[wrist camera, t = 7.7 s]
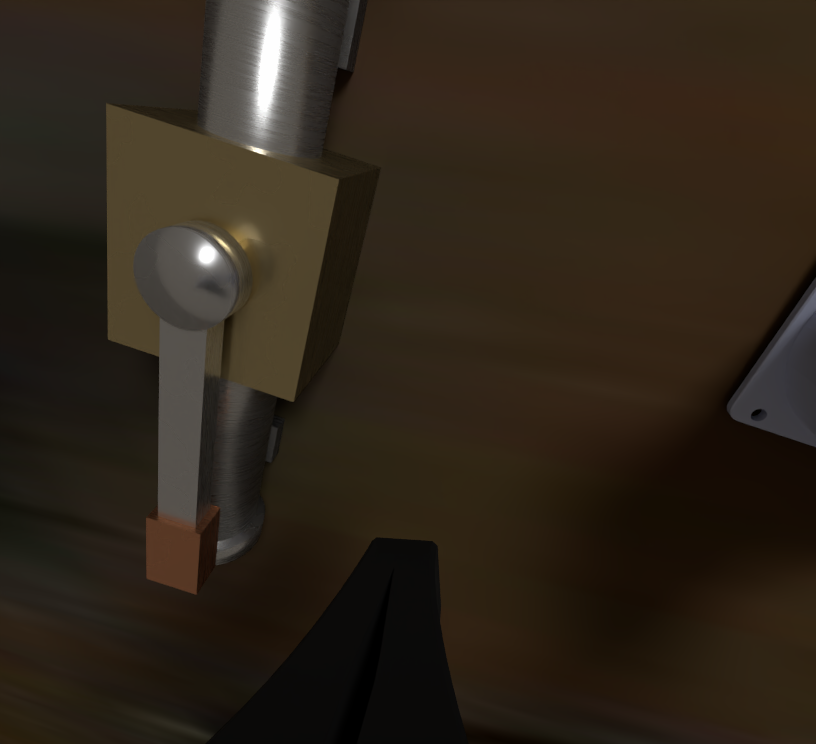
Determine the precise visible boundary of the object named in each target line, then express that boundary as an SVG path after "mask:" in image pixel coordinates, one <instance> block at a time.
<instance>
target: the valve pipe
mask: <svg viewBox="0 0 816 744" xmlns="http://www.w3.org/2000/svg"><path fill="white" fill-rule="evenodd" d="M366 5H367V0H206V7H205V21H204V35H203V49H202V63H201V77H200V91H199V105H198V110H186V109H173V108H160V107H147V106H135V105H122V104H109V103H106V114H107V268H108V340H111V341H114V342H117V343H120V344H123V345H126V346H129V347H132V348H135V349H138V350H141V351H144V352H147V353H150V354H153V355H156V356H159V344H160V317H159V316H157V315H156V314H155V313H154V312H153V311H152V310H151V308H150V307H149V306H148V305H147V303H146V302H145V301H144V299H143V297H142V296H141V294H140V292H139V290H138V287H137V284H136V281H135V277H134V270H133V262H134V256H135V252H136V249H137V247H138V245H139V243H140V242H141V241H142V239H143V238H144V237H145V236H147V235H148V234H149V233H151V232H152V231H155V230H157V229H161V228H164V227H168V226H171V225H175V224H178V223H182V222H186V221H190V220H202V221H207V222H211V223H213V224H216V225H218V226H220V227H222V228H223V229H225V230H226V231H228V232H229V233H230V234H231V235H232V236H233V237H234V238H235V239H236V240H237V241H238V242H239V243H240V245H241V246H242V248H243V249H244V251H245V252H246V255H247V257H248V259H249V262H250V265H251V269H252V276H253V282H252V290H251V293H250V296H249V298H248V300H247V301H246V303H245V304H244V305H243V306H242V307H241V308H240V309H239V310H238V311H236V312H235V313H233V314H232V315H230V316H229V317H228V318H226V319H225V320H224V333H223V347H222V360H221V373H220V386H219V399H218V413H217V426H216V439H215V452H214V466H213V479H212V492H211V505H214V506H217V507H220V508H221V509H220V520H219V532H218V543H217V554H216V565H220V564H224V563H228V562H231V561H233V560H236V559H238V558H240V557H241V556H243V555H244V554H246V553H247V552H248V551H249V550H251V549H252V547H253V546H254V545H255V544H256V542H257V541H258V539H259V537H260V534H261V531H262V526H263V521H264V515H265V505H264V501H263V499H262V497H261V496H260V494H259V493H260V487H261V482H262V476H263V471H264V466H265V461H267V462H270V463H271V462H272V461H273V459H274V458H275V456H276V455H277V454H278V451H279V446H280V440H281V435H282V430H283V425H284V420H285V419H284V418H281V417H278V416H275V415H274V411H275V406H276V400H277V397H279V398H282V399H285V400H288V401H291V402H294V401H295V400H296V399H297V397H298V396H299V395H300V393H301V392H302V391H303V390H304V388H305V387H306V386H307V384H308V383H309V382H310V380H311V379H312V378H313V376H314V375H315V374H316V373H317V371H318V370H319V369H320V367H321V366H322V365H323V363H324V362H325V361H326V360H327V358H328V357H329V356H330V354H331V353H332V352H333V350H334V349H335V348H336V347H337V345H338V344H339V340H340V336H341V332H342V328H343V324H344V319H345V315H346V311H347V307H348V303H349V299H350V294H351V290H352V286H353V282H354V278H355V273H356V269H357V265H358V261H359V257H360V253H361V248H362V244H363V240H364V236H365V232H366V227H367V223H368V219H369V215H370V211H371V207H372V202H373V198H374V194H375V190H376V186H377V181H378V177H379V173H380V169H381V168H380V167H377V166H374V165H371V164H368V163H365V162H362V161H359V160H356V159H353V158H350V157H347V156H343V155H340V154H337V153H334V152H331V151H328V150H325V149H323V145H324V140H325V134H326V129H327V123H328V118H329V113H330V107H331V102H332V96H333V91H334V85H335V80H336V75H337V69H338V68H340V69H343V70H347V71H350V72H353V71H354V66H355V61H356V56H357V51H358V46H359V41H360V36H361V31H362V26H363V20H364V15H365V10H366Z"/></svg>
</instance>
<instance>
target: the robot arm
mask: <svg viewBox="0 0 816 744" xmlns="http://www.w3.org/2000/svg"><path fill="white" fill-rule="evenodd" d="M757 409H762V411H761V412H760V413H759V414H758V415H755V416H751V414H752V412H753V411H755V410H757ZM727 411H728V413H729V414H730V416H731V417H732V418H733V419H734V420H736V421H739V422H742V423H745V424H748V425H751V426H754V427H757V428H760V429H763V430H766V431H769V432H772V433H775V434H778V435H781V436H784V437H787V438H790V439H793V440H796V441H799V442H802V443H805V444H808V445H811V446H814V447H816V277H815V279H814V280H813V282H812V283H811V285H810V286H809V288H808V289H807V290H806V292H805V293H804V295H803V296H802V298H801V299H800V300H799V302H798V303H797V305H796V306H795V308H794V309H793V310H792V312H791V313H790V315H789V316H788V318H787V319H786V320H785V322H784V323H783V325H782V326H781V328H780V329H779V331H778V332H777V333H776V335H775V336H774V338H773V339H772V341H771V342H770V343H769V345H768V346H767V348H766V349H765V351H764V352H763V353H762V355H761V356H760V358H759V359H758V361H757V362H756V363H755V365H754V366H753V368H752V369H751V371H750V372H749V373H748V375H747V376H746V378H745V379H744V381H743V382H742V384H741V385H740V386H739V388H738V389H737V391H736V392H735V394H734V395H733V396H732V398H731V399H730V401H729V402H728V405H727ZM440 612H441V599H440V582H439V564H438V546H437V545H436V544H435V543H434V542H433V541H422V540H407V539H392V538H375V539H374V540H373V541H372V542H371V544H370V545H369V547H368V549H367V550H366V552H365V554H364V555H363V557H362V558H361V560H360V562H359V563H358V565H357V566H356V568H355V569H354V571H353V572H352V574H351V575H350V577H349V578H348V579H347V581H346V582H345V584H344V585H343V587H342V588H341V590H340V591H339V592H338V594H337V595H336V596H335V598H334V599H333V601H332V602H331V603H330V605H329V606H328V607H327V609H326V610H325V611H324V613H323V614H322V616H321V617H320V618H319V620H318V621H317V622H316V623H315V625H314V626H313V627H312V629H311V630H310V631H309V632H308V633H307V635H306V636H305V637H304V638H303V640H302V641H301V642H300V643H299V644H298V646H297V647H296V648H295V649H294V651H293V652H292V653H291V654H290V655H289V657H288V658H287V659H286V660H285V661H284V663H283V664H282V665H281V666H280V667H279V668H278V669H277V671H276V672H275V673H274V674H273V675H272V676H271V677H270V678H269V680H268V681H267V682H266V683H265V684H264V685H263V686H262V687H261V688H260V689H259V690H258V691H257V693H256V694H255V695H254V696H253V697H252V698H251V699H250V700H249V701H248V702H247V703H246V704H245V705H244V706H243V707H242V708H241V709H240V710H239V711H238V712H237V713H236V714H235V715H234V716H233V717H232V718H231V719H230V720H229V721H228V722H227V723H226V724H225V725H224V726H223V727H222V728H221V729H220V730H219V731H218V732H217V733H216V734H215V735H214V736H213V737H212V738H211V739H210V740H209V741H208V742H207V743H206V744H468V741H467V737H466V734H465V730H464V727H463V723H462V719H461V716H460V712H459V708H458V705H457V701H456V697H455V693H454V689H453V685H452V680H451V676H450V671H449V667H448V662H447V658H446V653H445V648H444V643H443V637H442V631H441V625H440Z"/></svg>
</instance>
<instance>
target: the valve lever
mask: <svg viewBox="0 0 816 744" xmlns="http://www.w3.org/2000/svg"><path fill="white" fill-rule="evenodd" d="M133 270H134V277H135V281H136V284H137V287H138V290H139V292H140V294H141V296H142V297H143V299H144V301H145V302H146V303H147V305H148V306H149V307H150V308H151V310H152V311H153V312H154V313H155V314H156V315H157V316H159V317H160V344H159V452H158V505H157V506H156V507H155V509H154V510H153V511H152V512H151V513H150V514H149V515H148V516H147V517H146V555H147V579H149V580H152V581H155V582H159V583H162V584H165V585H168V586H171V587H174V588H177V589H180V590H183V591H186V592H189V593H192V594H196V595H197V593H198V592H199V590H200V589H201V587H202V586H203V584H204V583H205V581H206V579H207V578H208V576H209V575H210V573H211V572H212V570H213V569H214V567H215V565H216V554H217V543H218V532H219V520H220V509H221V508H220V507H217V506H214V505H211V492H212V479H213V466H214V452H215V439H216V426H217V413H218V399H219V386H220V373H221V360H222V347H223V333H224V320H225V319H226V318H228V317H229V316H230V315H232V314H233V313H235V312H236V311H238V310H239V309H240V308H241V307H242V306H243V305H244V304H245V303H246V301H247V300H248V298H249V296H250V293H251V290H252V282H253V276H252V269H251V265H250V262H249V259H248V257H247V255H246V252H245V251H244V249H243V248H242V246H241V245H240V243H239V242H238V241H237V240H236V239H235V238H234V237H233V236H232V235H231V234H230V233H229V232H228V231H226V230H225V229H223V228H222V227H220V226H218V225H216V224H213V223H211V222H207V221H202V220H190V221H186V222H182V223H178V224H175V225H171V226H168V227H164V228H161V229H157V230H155V231H152V232H151V233H149V234H148V235H147V236H145V237H144V238H143V239H142V241H141V242H140V243H139V245H138V247H137V249H136V252H135V256H134V262H133Z"/></svg>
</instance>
